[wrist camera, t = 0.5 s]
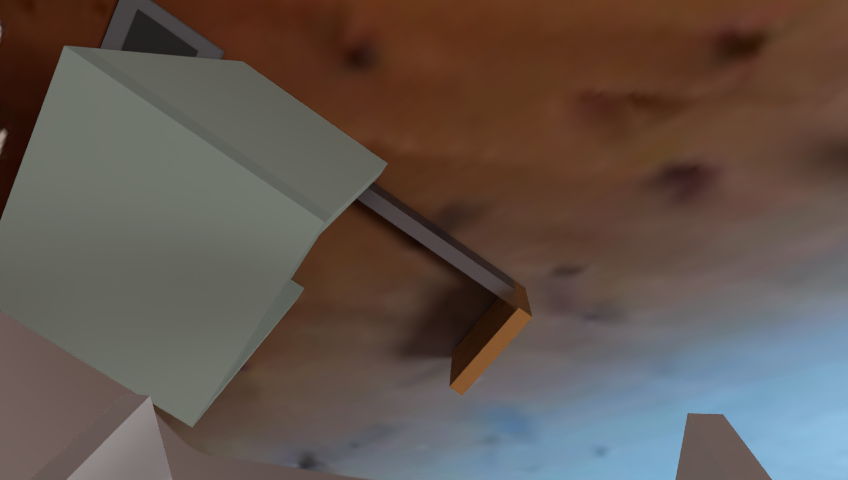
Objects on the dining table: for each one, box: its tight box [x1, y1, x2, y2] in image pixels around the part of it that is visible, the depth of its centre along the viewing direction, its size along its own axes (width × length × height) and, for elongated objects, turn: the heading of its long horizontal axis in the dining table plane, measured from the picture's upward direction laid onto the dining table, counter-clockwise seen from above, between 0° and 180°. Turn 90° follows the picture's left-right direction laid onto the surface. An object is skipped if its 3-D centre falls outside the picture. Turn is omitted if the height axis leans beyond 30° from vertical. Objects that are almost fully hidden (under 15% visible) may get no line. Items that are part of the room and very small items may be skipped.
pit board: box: [100, 0, 224, 60], centre depth 37 cm, size 8×14×1 cm, turn 145°
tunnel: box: [0, 46, 388, 427], centre depth 30 cm, size 13×14×16 cm
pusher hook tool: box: [356, 182, 532, 395], centre depth 36 cm, size 28×10×5 cm, turn 55°
